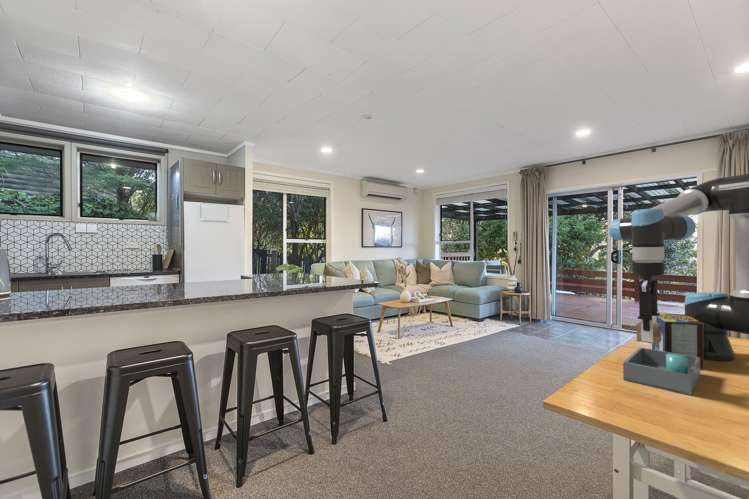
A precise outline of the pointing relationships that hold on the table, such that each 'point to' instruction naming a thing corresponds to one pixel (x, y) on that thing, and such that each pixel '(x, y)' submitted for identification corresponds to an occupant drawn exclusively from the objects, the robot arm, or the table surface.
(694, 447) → the table surface
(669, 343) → the protein box
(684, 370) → the teal cylinder
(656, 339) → the walnut cube
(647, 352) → the tote
